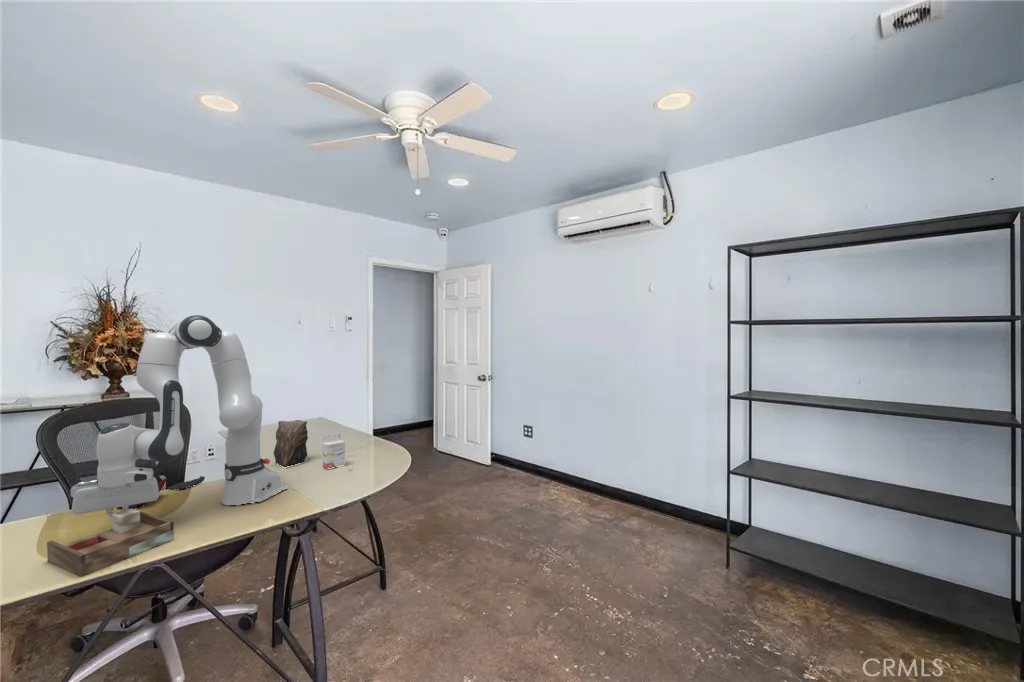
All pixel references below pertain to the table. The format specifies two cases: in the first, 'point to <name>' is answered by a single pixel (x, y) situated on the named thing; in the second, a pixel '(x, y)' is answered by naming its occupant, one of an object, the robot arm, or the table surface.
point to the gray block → (125, 520)
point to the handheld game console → (160, 485)
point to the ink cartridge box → (333, 451)
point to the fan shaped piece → (187, 484)
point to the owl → (291, 442)
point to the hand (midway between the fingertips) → (118, 520)
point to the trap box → (110, 546)
